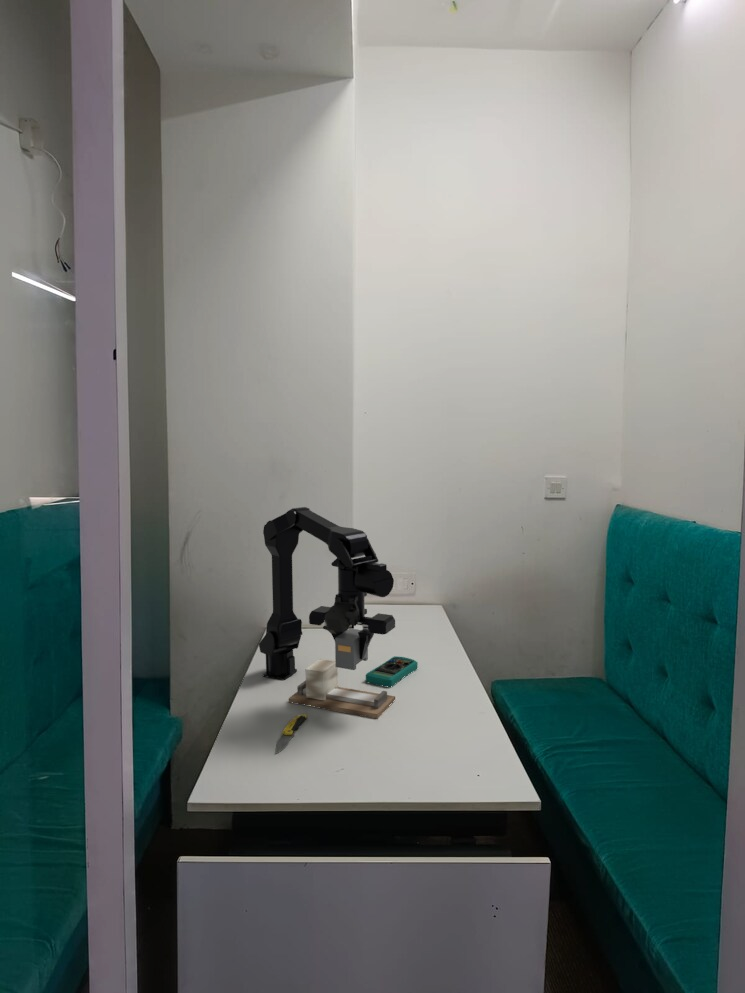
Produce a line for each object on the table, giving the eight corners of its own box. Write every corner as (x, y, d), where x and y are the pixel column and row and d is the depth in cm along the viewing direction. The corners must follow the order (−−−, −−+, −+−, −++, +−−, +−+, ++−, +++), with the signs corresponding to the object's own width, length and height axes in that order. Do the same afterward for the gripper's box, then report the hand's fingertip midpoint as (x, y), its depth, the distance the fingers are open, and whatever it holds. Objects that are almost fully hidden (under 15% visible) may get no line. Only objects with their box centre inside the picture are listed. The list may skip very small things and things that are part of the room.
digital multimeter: (419, 669, 168) (419, 658, 167) (390, 690, 155) (390, 678, 155) (394, 664, 172) (394, 654, 171) (364, 684, 159) (364, 672, 159)
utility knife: (285, 751, 124) (269, 750, 124) (285, 757, 124) (270, 756, 125) (307, 714, 140) (293, 713, 140) (307, 719, 140) (293, 718, 140)
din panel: (288, 702, 148) (287, 669, 147) (310, 686, 157) (309, 654, 156) (377, 718, 139) (377, 683, 138) (395, 700, 148) (394, 667, 147)
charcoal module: (335, 667, 142) (334, 637, 141) (350, 656, 148) (349, 628, 148) (353, 670, 140) (353, 640, 139) (367, 659, 147) (367, 630, 146)
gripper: (295, 592, 139) (296, 663, 141) (374, 602, 131) (375, 677, 133) (320, 581, 149) (321, 647, 151) (396, 589, 141) (396, 658, 143)
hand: (351, 657), depth 144 cm, fingers closed on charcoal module, 4 cm apart
